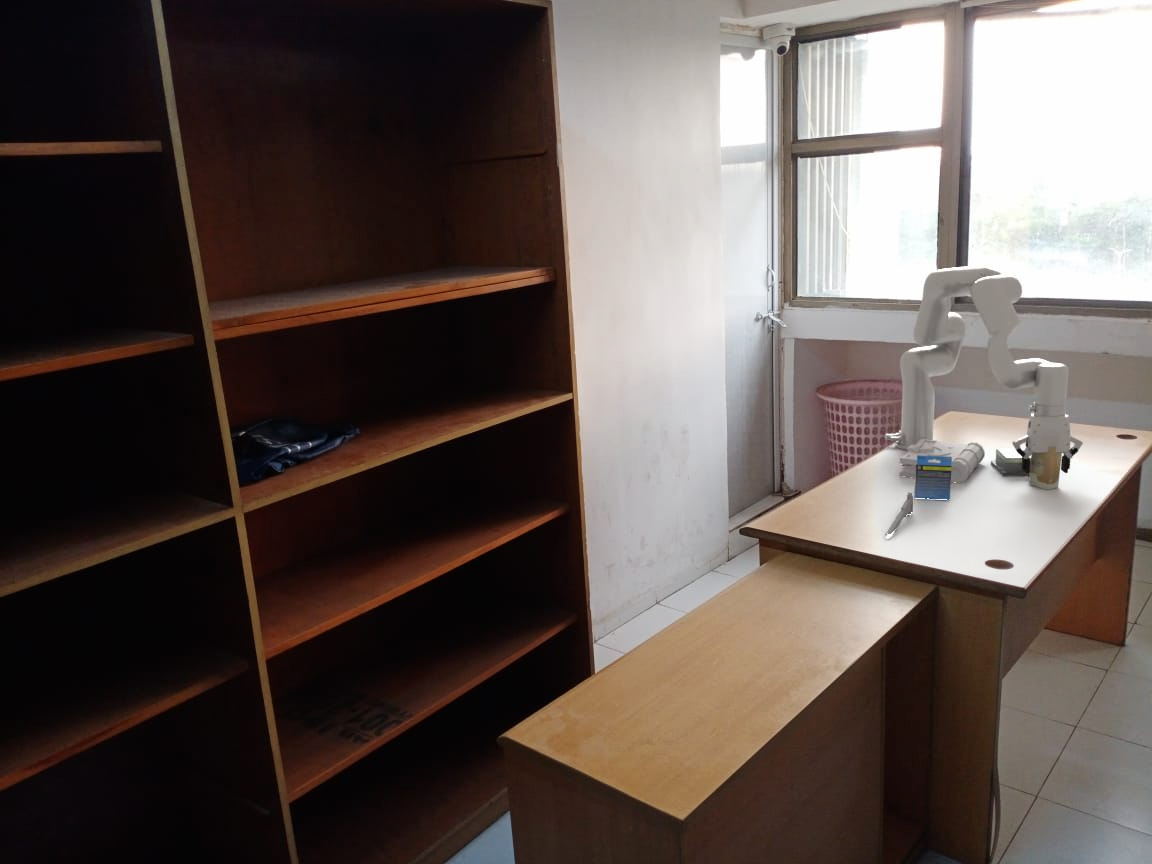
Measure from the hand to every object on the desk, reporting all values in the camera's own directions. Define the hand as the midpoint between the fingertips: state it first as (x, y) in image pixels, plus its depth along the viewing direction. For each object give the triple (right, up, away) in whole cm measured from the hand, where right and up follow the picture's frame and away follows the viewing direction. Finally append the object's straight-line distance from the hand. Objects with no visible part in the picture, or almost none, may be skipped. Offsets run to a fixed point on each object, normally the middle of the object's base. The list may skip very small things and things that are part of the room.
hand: (1045, 471), depth 250 cm
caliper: (-47, -13, -22) cm, 53 cm away
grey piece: (0, 0, +16) cm, 16 cm away
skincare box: (0, -4, +1) cm, 4 cm away
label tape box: (-32, -7, -4) cm, 33 cm away
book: (-19, 0, +22) cm, 29 cm away
